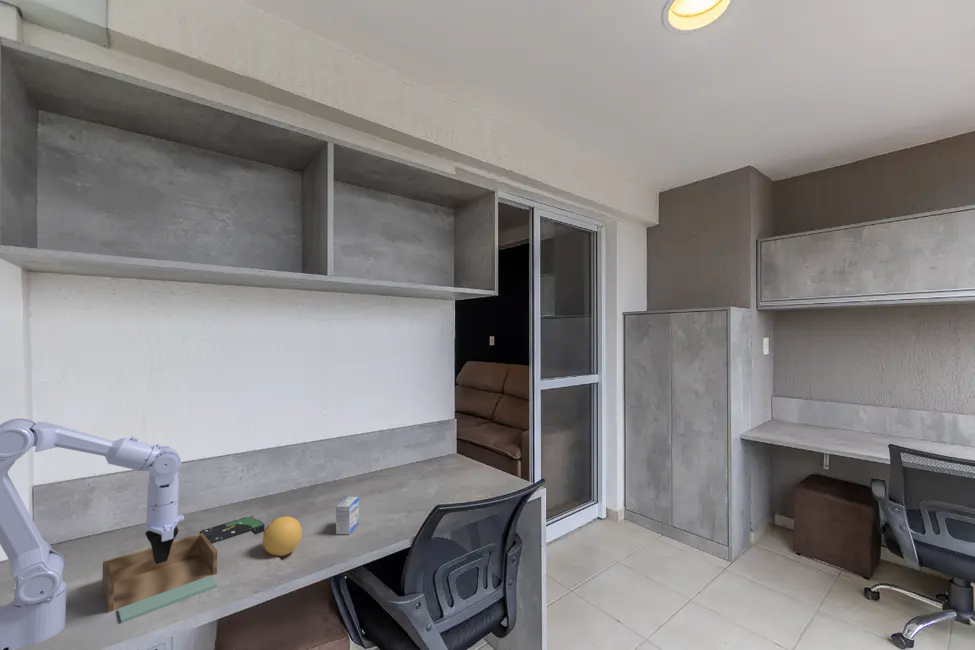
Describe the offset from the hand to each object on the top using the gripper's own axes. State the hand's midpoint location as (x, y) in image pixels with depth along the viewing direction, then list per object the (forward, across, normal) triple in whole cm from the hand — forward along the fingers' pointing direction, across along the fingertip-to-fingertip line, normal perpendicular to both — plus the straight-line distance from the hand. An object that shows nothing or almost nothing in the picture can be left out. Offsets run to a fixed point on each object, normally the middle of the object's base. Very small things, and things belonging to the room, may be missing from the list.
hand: (161, 561), depth 95 cm
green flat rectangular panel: (+7, -1, -1) cm, 7 cm away
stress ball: (+9, +1, -27) cm, 29 cm away
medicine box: (+9, +2, -47) cm, 48 cm away
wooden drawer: (+9, +7, -1) cm, 11 cm away
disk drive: (+9, +24, -21) cm, 33 cm away
